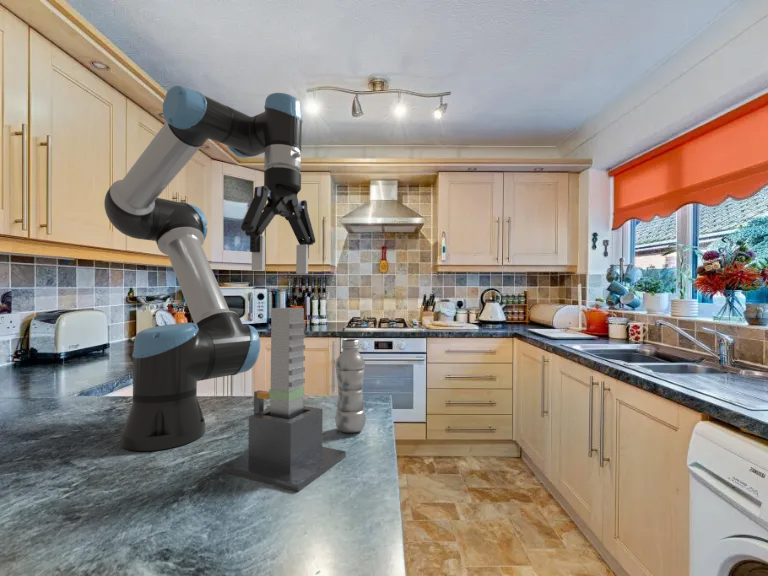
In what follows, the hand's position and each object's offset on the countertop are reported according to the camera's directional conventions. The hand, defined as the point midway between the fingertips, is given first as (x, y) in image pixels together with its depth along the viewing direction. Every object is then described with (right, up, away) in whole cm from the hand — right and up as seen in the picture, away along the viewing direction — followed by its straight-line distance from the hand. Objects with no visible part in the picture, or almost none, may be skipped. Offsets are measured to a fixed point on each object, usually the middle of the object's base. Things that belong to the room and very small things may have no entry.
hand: (281, 272), depth 80 cm
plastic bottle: (+14, -35, +4) cm, 38 cm away
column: (+4, -27, -12) cm, 30 cm away
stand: (+4, -34, -13) cm, 37 cm away
